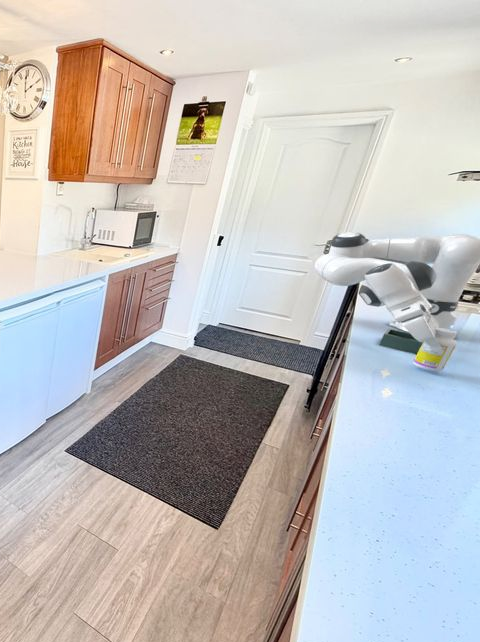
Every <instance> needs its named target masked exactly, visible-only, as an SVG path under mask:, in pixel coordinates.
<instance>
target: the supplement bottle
mask: <svg viewBox="0 0 480 642" xmlns="http://www.w3.org/2000/svg"><path fill="white" fill-rule="evenodd" d="M435 329H436V331H437V333H436V335H435V338H436V340H437V341H438V342H439V343H440V344H441V346H442V347H443V349H442V350H439V351H435V350H434V349H433V348H432V347H431V346H430V345H429V344H428V343H427V342H426V341H424V342H423V343H422V345H421V347H420V349H419V351H418V353H417V354H415V357H414V360H413V362H412V364H413V365H414V366H415V367H417V368H420V369H422V370H427V371H432V372H443V370H444V369H445V368H446V367H445V366H446V365H447V363H448V361H449V359H450V357H451V355H452V353H453V351H454V350H455V347H456V346H457V341H456V339H453V337H455V336H457V333H458V332H457V331H456V330H452V329H451V330H449V329H445V328H435ZM455 338H456V337H455Z"/></svg>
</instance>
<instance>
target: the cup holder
mask: <svg viewBox="0 0 480 642" xmlns="http://www.w3.org/2000/svg"><path fill="white" fill-rule="evenodd" d="M422 343H423V342H419V341H417V340H416V339H415V338H414V337H413V336H412V335H411V334H410V333H409V332H407V331H403V330H398V329H397V330H396V329H392V328H387V329H386V330H385V332H384V333H383V335H382V337H381V340H380V342H379V344H378V345H379V346H382V347H386V348H390V349H394V350H399V351H402V352H406V353H409V354H415V355H417V353H418V351H419V349H420V347H421V345H422Z"/></svg>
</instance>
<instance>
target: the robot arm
mask: <svg viewBox="0 0 480 642" xmlns="http://www.w3.org/2000/svg"><path fill="white" fill-rule="evenodd" d="M329 245H330V248H329V252H328V253H326V254H323V255H321V256H319V257H318V258H317V259H316V260H315V263H314V264H313V267H314V271H315V272H316V274H317V275H318V276H319V277H321V279H323V280H325V281H326V282H328V283H329V284H332V285H334V286H339V287H350V286H353V285H356V284H359V283H361V282H364V281H365V282H364V283H363V284H361V285H360V287H359V290H358V295H359V296H360V298H361V299H362V300H363V302H364V303H365V304H366V305H367V306H370V307H379V308H380V307H383V306H385V308H386V309H387V311H388V312H389V313H390V314H391V316H392V317H393V319H394V321H390V322H389V324H388V326H390V327H393V328H397V329H398V330H400V331H403V332H407V333H410V334H411V335H412V336H413V337H414V338H415V339H416V340H417V341H419V342H424V341H426V342H427V343H428V344H429V345H430V346H431V347H432V348H433V349H434V350H435V351H439V350H442V349H443V347H442V346H441V344H440V343H439V342H438V341H437V340H436V338H435V335H436V333H437V331H436V329H435V328H445V329H449V330H452V329H453V328H454V325H455V323H456V322H457V319H458V317H457V316H456V314H455V313H454V312H455V311H456V310H457V308H458V305H459V300H460V298H461V296H462V294H463V292H464V290H465V288H466V286H467V285H468V282H469V281H470V279H471V278H472V277H473V275H474V274H475V272H476V271H477V269H478V267H479V266H480V238H479V237H476V236H473V235H470V234H465V233H459V234H443V235H430V236H415V237H392V238H390V237H389V238H378V239H369V238H366V236H365V235H363V234H362V233H360V232H355V231H346V232H342V233H338V234H336V235H334V236H333V237H332V239H331V241H330V244H329ZM430 265H432V266H430ZM456 336H457V335H456ZM456 336H455V337H453V339H454V340H456Z"/></svg>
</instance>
